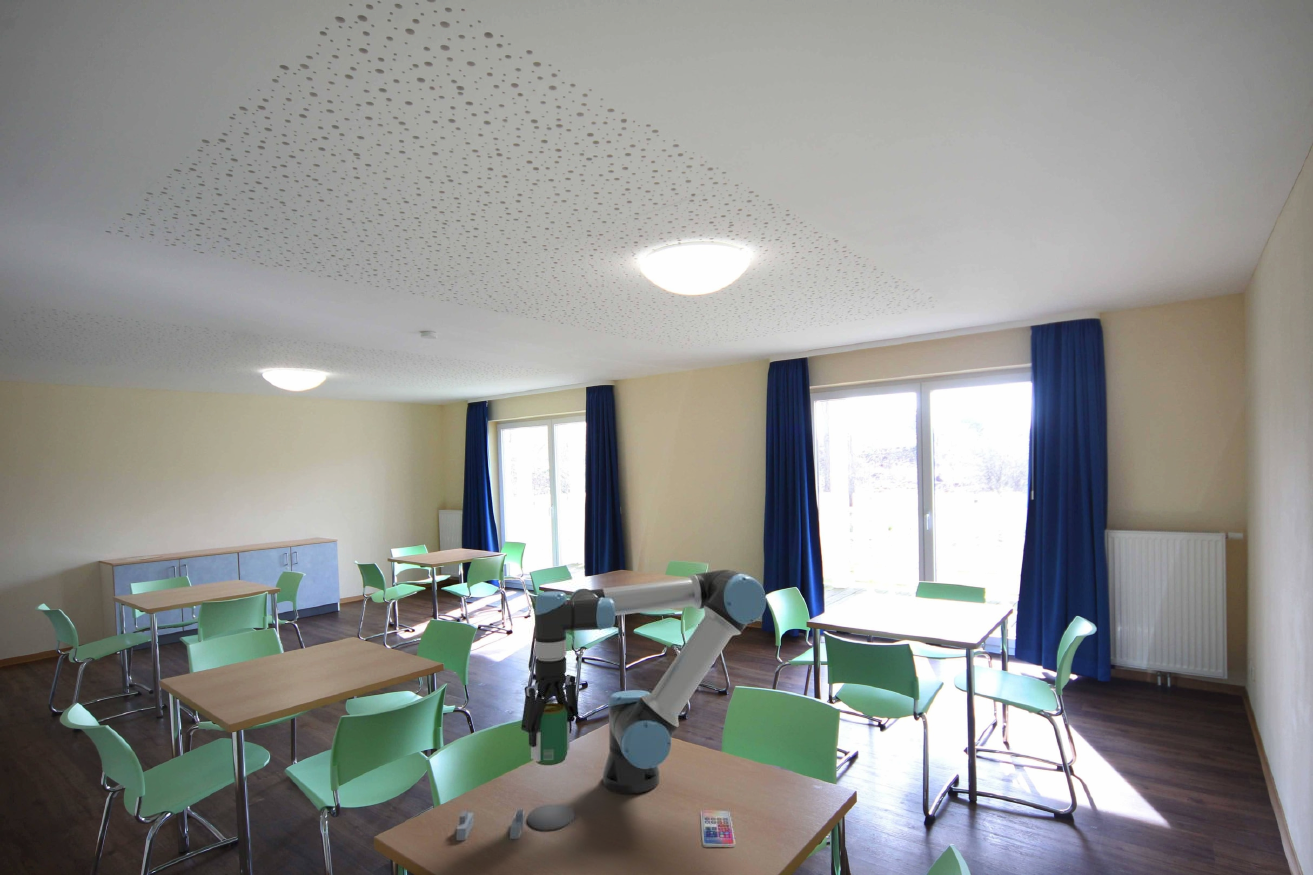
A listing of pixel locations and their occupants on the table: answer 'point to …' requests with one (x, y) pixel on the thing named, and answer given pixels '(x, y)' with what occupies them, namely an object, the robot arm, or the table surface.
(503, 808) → the table surface
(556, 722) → the beverage can
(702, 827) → the smartphone
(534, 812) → the coaster
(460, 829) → the twin notched blocks
